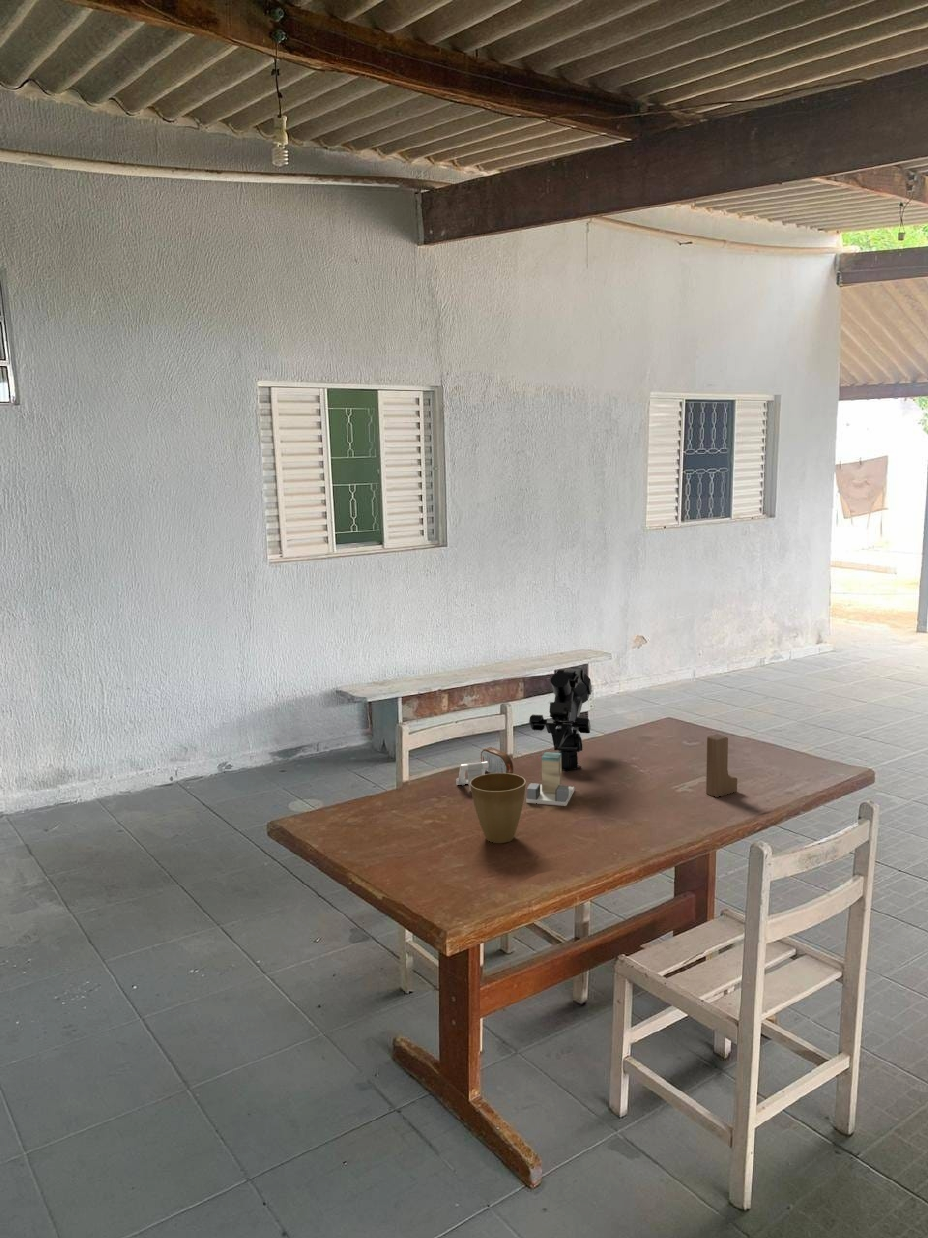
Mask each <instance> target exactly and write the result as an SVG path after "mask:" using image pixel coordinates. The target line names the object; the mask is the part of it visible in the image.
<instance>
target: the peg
mask: <svg viewBox="0 0 928 1238" xmlns="http://www.w3.org/2000/svg"><path fill="white" fill-rule="evenodd" d="M541 785H542V792H548V793H555V791H556V789H557V787H558V785H562V769H561V753H559V752H549V751H548V752H547V751H545V752H544V753H543V754H542V756H541ZM562 786H563V785H562Z"/></svg>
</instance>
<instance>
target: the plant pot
mask: <svg viewBox="0 0 928 1238" xmlns="http://www.w3.org/2000/svg"><path fill="white" fill-rule="evenodd" d="M526 782H527V781H526V779H525V778H524V777H523V776H521V775H518V774H515V773H513V774H510V773H485V774H484V775H480V776H477V777H475V778H473V779H472V780H471V781H470V787H471V795H472V796H471V797H472V801H473V805H474V808H475V812H476V815H477V819H478V822H479V824H480V827H481V830H482V832H483V834H484V836H485V839H486V840H487V841H488V842H489V841H490V842H489V843H492V842H493V844H504V843H508V842H511V841H513V840H514V838H515V835H516V832H517V828H518V826H519V823H520V819H521V816H522V810H523V805H524V799H525V792H526Z"/></svg>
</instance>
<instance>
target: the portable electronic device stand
mask: <svg viewBox="0 0 928 1238" xmlns="http://www.w3.org/2000/svg"><path fill="white" fill-rule="evenodd" d="M488 767H489V765H488V762H487V761H486V762H481V761H479V762H471V763H463V764H460V766H459V774H458V778H456V779H455V782H456V783H455V784H456V786H457V785H462V786H466V785H465V784H468V788H469V789H468V790H469V792H470V791H471V787H470V781H471V780H472V779H473V778H475V777H477V776H480V775H484V774H486V771H485V770H486V768H488ZM466 775H467V777H466Z"/></svg>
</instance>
